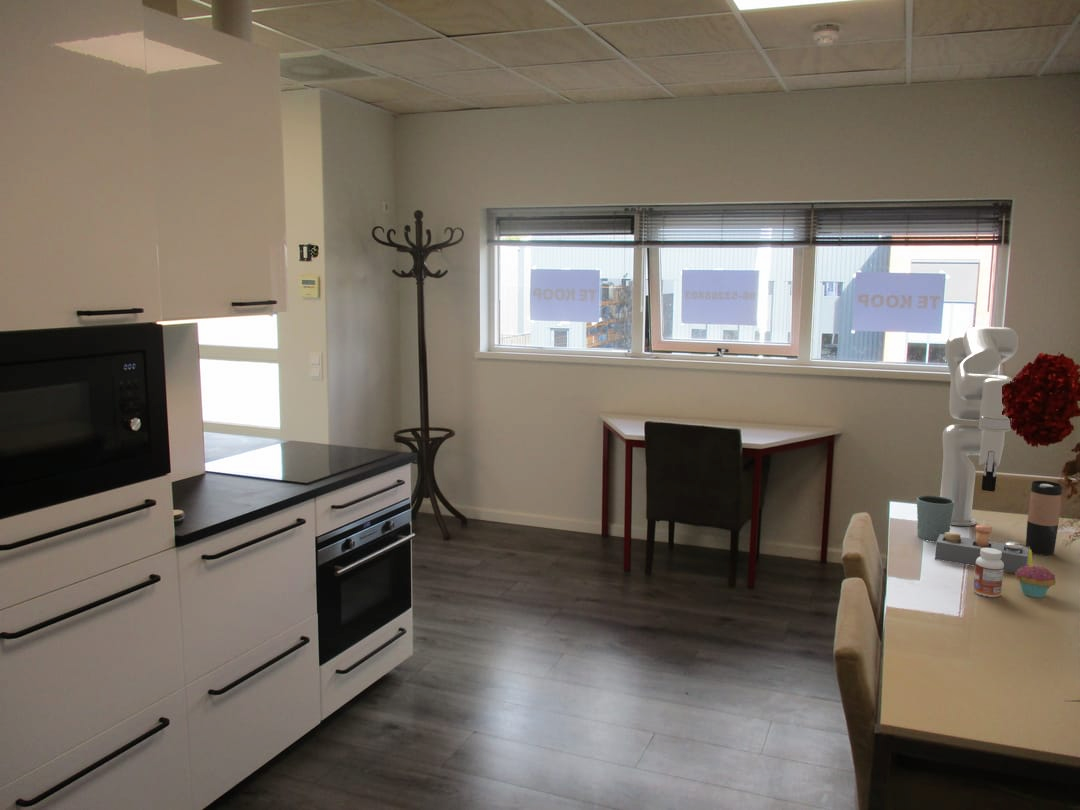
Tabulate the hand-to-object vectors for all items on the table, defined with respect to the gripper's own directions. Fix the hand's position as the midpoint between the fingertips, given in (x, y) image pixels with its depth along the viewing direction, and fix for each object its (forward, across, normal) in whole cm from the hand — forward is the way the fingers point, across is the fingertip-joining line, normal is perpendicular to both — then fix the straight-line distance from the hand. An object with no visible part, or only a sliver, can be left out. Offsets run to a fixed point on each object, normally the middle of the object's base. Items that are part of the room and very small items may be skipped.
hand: (988, 490), depth 228 cm
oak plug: (+20, 0, -8) cm, 21 cm away
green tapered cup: (+21, -17, -14) cm, 30 cm away
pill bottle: (+21, +25, +3) cm, 33 cm away
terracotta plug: (+16, 0, 0) cm, 16 cm away
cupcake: (+21, +19, +13) cm, 31 cm away
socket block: (+20, 0, 0) cm, 21 cm away
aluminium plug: (+20, 0, +7) cm, 21 cm away
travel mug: (+21, -21, +14) cm, 32 cm away
